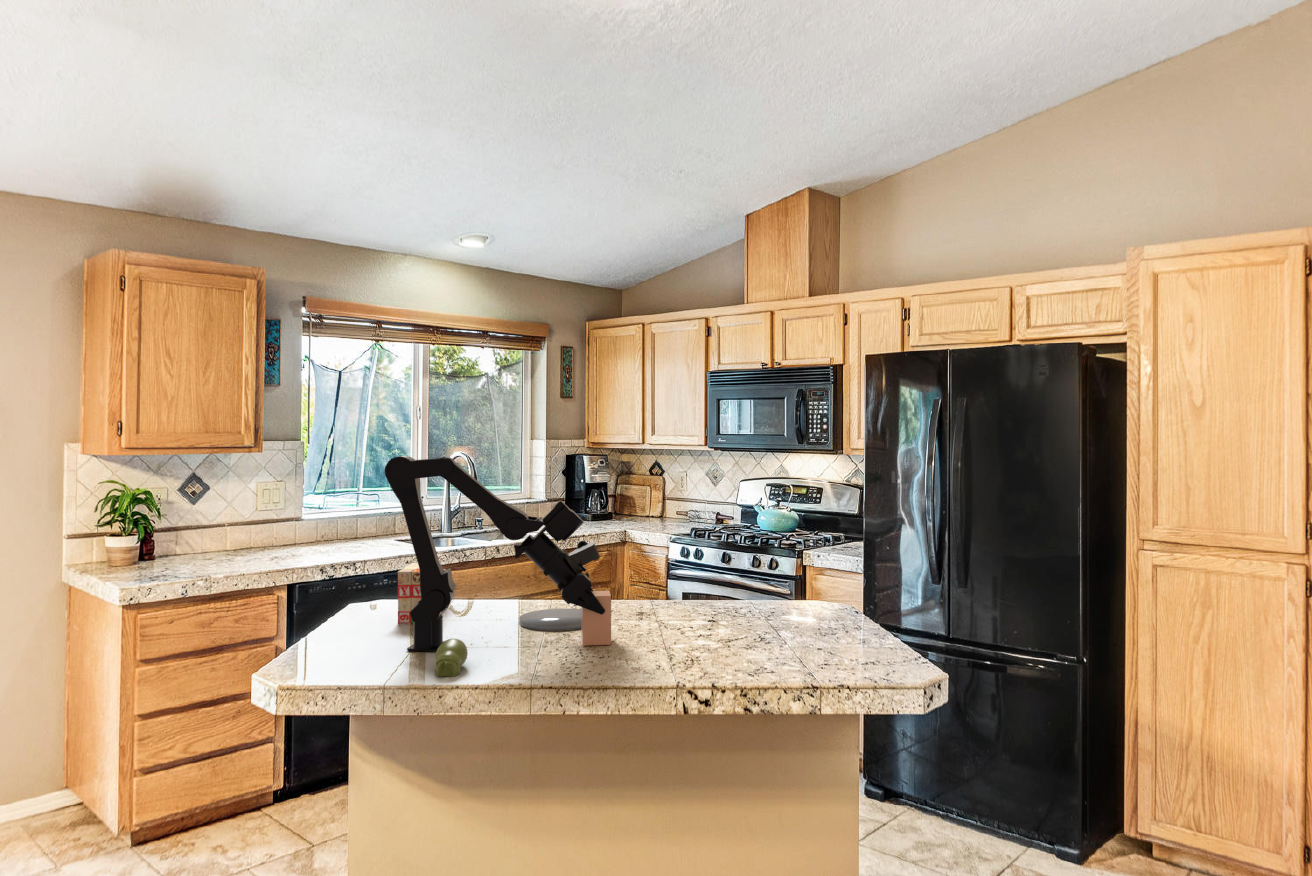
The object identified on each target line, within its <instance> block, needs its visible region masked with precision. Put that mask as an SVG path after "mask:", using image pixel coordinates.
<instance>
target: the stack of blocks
mask: <svg viewBox="0 0 1312 876" xmlns="http://www.w3.org/2000/svg"><path fill="white" fill-rule="evenodd" d="M443 569H444V570H447V568H443ZM420 600H421V591H420V569H419V565H418V562H412V563H410V564H408V565H407V566H405V567H403V568H402V569H399V570H398V571H397V624H398V623H399V624H398V625H406V624H405V623H413V620H412V617H411V615H410V612H411V610H412V609H413V608H414V607H415V605H416V604H417V603H418V602H419V601H420ZM400 623H401V624H400ZM402 623H404V624H402Z"/></svg>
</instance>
